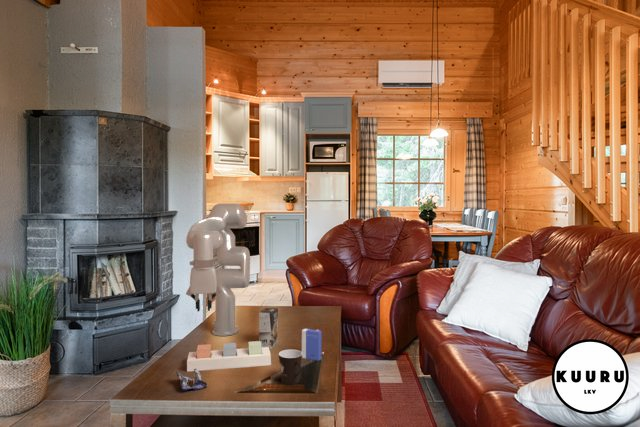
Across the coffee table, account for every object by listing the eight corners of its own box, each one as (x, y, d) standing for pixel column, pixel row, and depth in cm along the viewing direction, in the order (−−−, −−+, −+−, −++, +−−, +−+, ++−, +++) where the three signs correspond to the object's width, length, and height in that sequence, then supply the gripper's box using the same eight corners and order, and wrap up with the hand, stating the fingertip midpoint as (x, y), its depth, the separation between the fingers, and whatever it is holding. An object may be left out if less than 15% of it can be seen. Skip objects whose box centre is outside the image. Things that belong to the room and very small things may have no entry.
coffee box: (272, 349, 190) (272, 313, 189) (258, 348, 191) (258, 312, 190) (278, 342, 199) (278, 307, 198) (265, 341, 200) (265, 307, 199)
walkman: (321, 358, 179) (321, 329, 179) (318, 360, 177) (318, 331, 176) (304, 355, 182) (304, 327, 182) (301, 357, 180) (301, 329, 179)
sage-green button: (248, 357, 172) (248, 345, 172) (248, 353, 177) (248, 341, 177) (261, 356, 173) (261, 345, 173) (260, 352, 178) (260, 341, 178)
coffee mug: (278, 376, 161) (278, 349, 161) (301, 375, 162) (301, 349, 161) (278, 389, 150) (278, 361, 149) (303, 389, 150) (303, 360, 150)
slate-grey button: (223, 359, 170) (223, 347, 170) (223, 355, 175) (223, 343, 175) (236, 358, 171) (236, 346, 171) (236, 354, 176) (236, 342, 176)
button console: (187, 371, 165) (187, 361, 165) (189, 361, 175) (189, 352, 175) (270, 365, 172) (270, 355, 171) (268, 356, 181) (268, 346, 181)
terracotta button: (197, 361, 168) (196, 349, 168) (197, 356, 173) (197, 345, 173) (210, 360, 169) (210, 348, 169) (210, 355, 174) (210, 344, 174)
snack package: (210, 378, 160) (178, 378, 158) (210, 363, 158) (178, 363, 157) (204, 398, 148) (169, 399, 147) (204, 382, 147) (169, 382, 146)
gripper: (180, 266, 164) (180, 313, 165) (224, 264, 168) (224, 311, 168) (182, 263, 172) (182, 309, 172) (225, 262, 175) (225, 307, 176)
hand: (203, 309), depth 170 cm, fingers open, 3 cm apart
